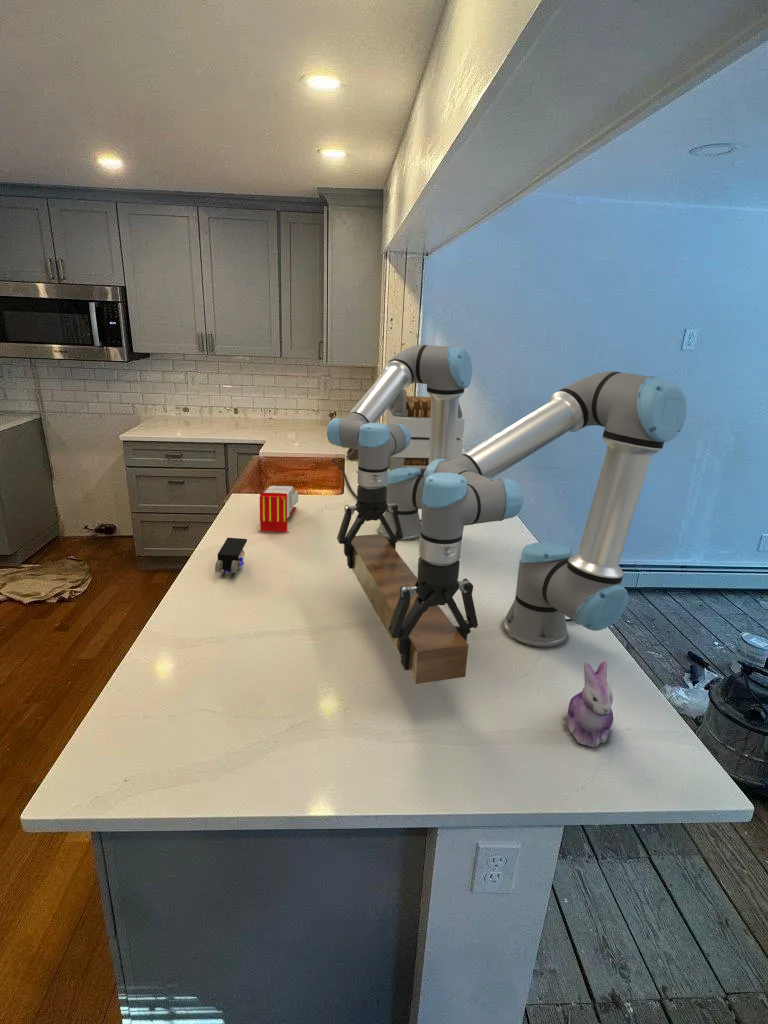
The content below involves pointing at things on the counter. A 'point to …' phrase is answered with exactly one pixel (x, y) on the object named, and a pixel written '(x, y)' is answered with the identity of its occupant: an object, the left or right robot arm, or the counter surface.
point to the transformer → (416, 429)
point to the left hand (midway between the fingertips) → (369, 564)
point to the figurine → (591, 708)
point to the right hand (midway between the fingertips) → (430, 662)
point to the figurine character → (230, 556)
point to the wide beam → (433, 636)
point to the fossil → (352, 453)
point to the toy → (277, 507)
